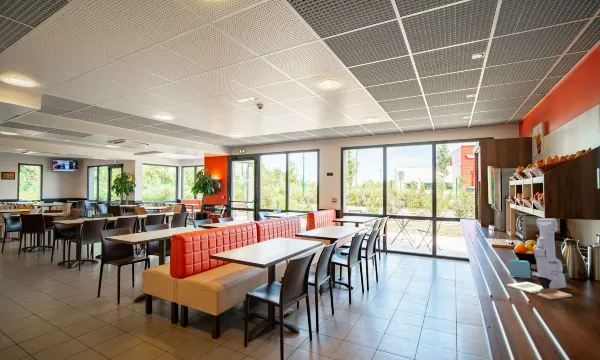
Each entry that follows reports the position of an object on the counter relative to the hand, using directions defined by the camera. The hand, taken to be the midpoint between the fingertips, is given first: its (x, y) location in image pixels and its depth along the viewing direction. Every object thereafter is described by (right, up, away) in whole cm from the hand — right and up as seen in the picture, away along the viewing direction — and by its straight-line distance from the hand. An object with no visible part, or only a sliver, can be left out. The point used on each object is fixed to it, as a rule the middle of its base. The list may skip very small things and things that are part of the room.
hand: (546, 290), depth 183 cm
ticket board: (-2, -3, +12) cm, 12 cm away
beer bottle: (+31, -2, +24) cm, 39 cm away
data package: (+11, -4, +36) cm, 38 cm away
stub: (+1, -2, -5) cm, 5 cm away
